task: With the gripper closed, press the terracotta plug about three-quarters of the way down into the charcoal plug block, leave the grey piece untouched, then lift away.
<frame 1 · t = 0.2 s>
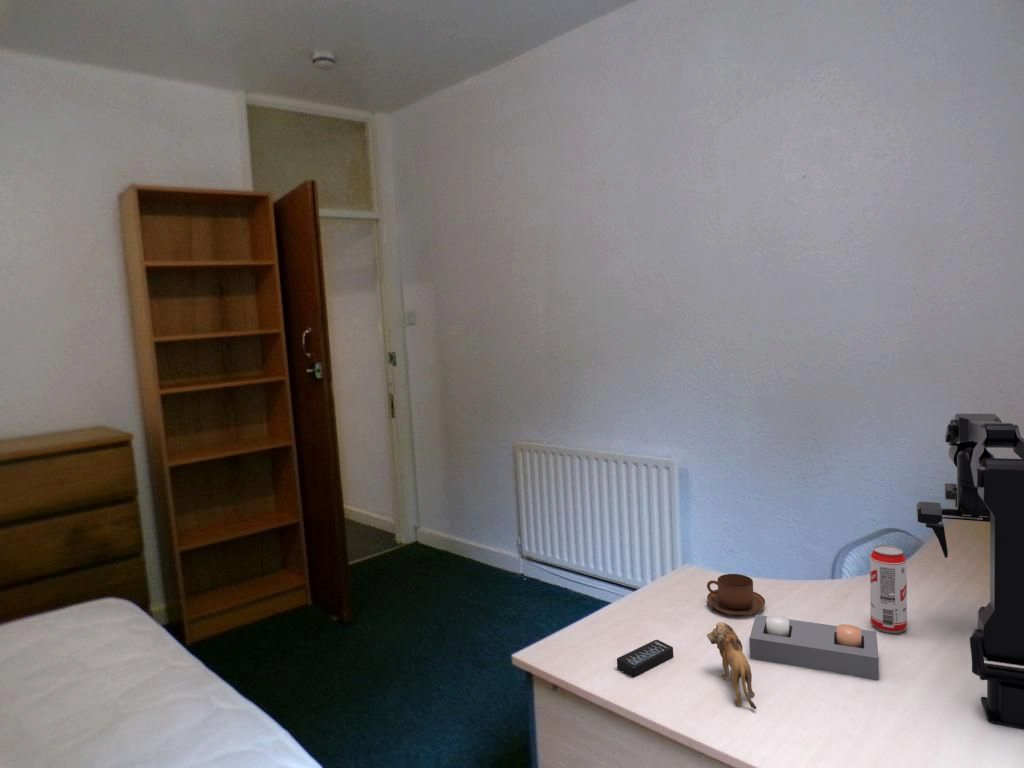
hand: (974, 560, 124), 14 cm above the table, fingers open, 9 cm apart
lion figurine: (733, 686, 114), on the table
multiport hub: (645, 665, 123), on the table
grey piece: (777, 628, 124), point 4 cm above the table, slide at 0.0 cm
beer can: (888, 628, 130), on the table
terracotta plug: (849, 638, 119), point 4 cm above the table, slide at 0.0 cm
cup and saucer: (736, 608, 143), on the table
plug block: (813, 655, 122), on the table
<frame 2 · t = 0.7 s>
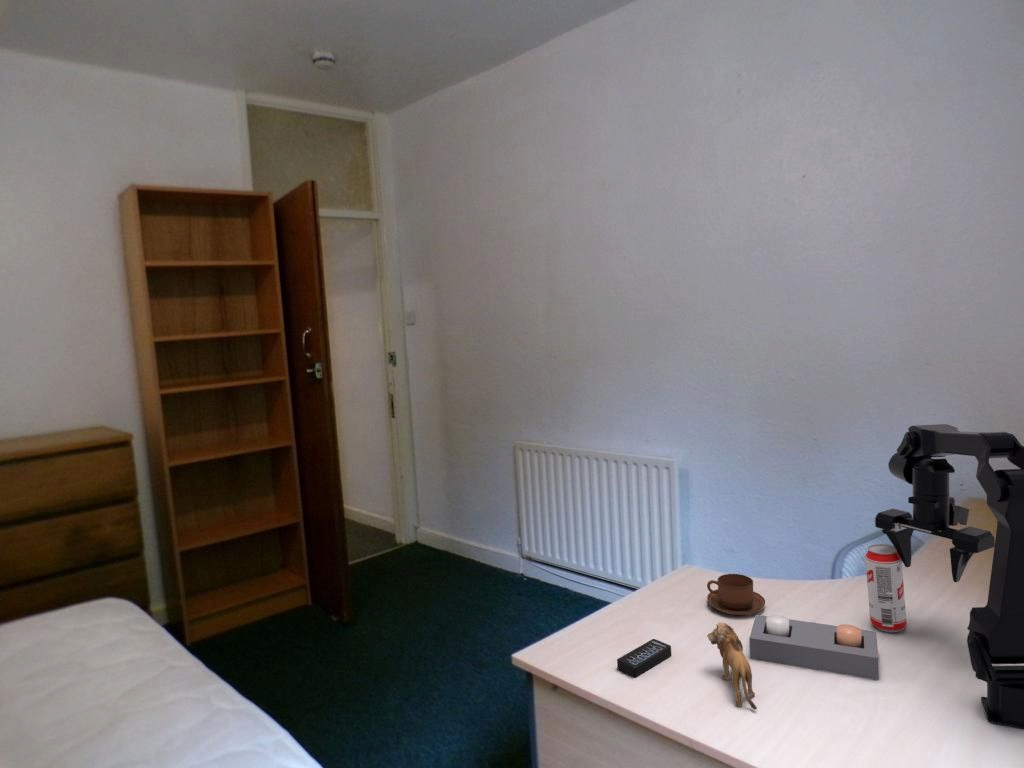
hand: (931, 574, 122), 13 cm above the table, fingers open, 8 cm apart
beer can: (888, 627, 130), on the table, touching gripper
everything else where it was.
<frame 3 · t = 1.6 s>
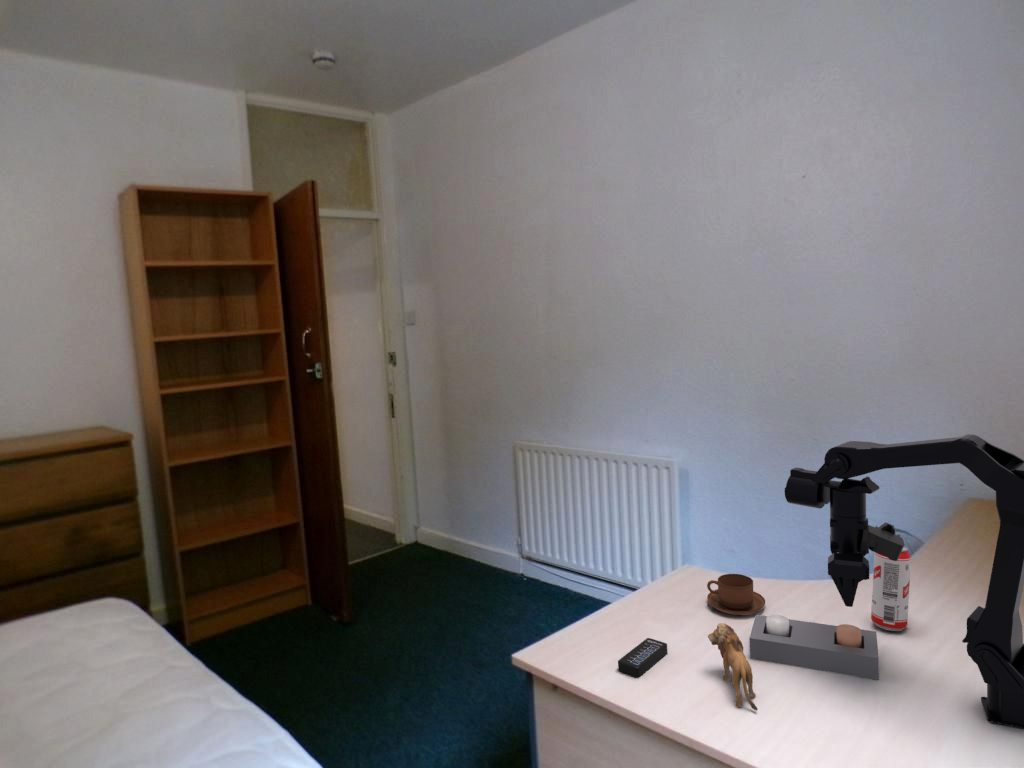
hand: (849, 597, 118), 12 cm above the table, fingers open, 7 cm apart
beer can: (888, 626, 130), on the table
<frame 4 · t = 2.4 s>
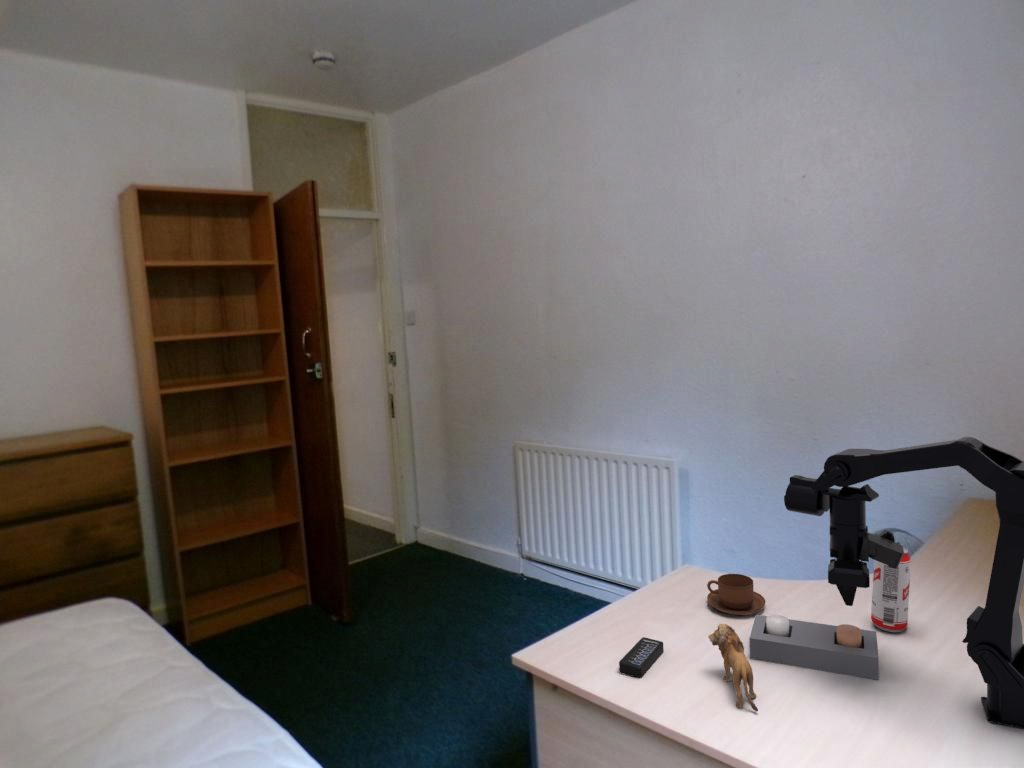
hand: (849, 604, 118), 11 cm above the table, fingers closed
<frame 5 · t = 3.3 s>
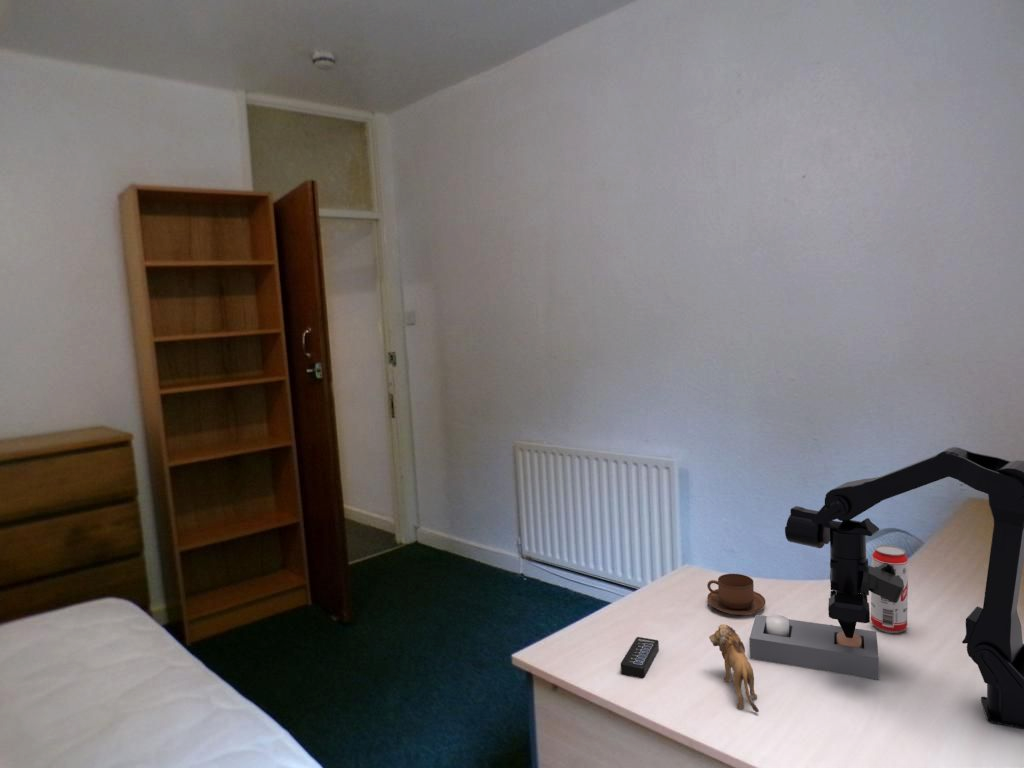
hand: (849, 637, 119), 5 cm above the table, fingers closed, pressing on terracotta plug
terracotta plug: (849, 646, 119), point 3 cm above the table, slide at 1.4 cm, touching gripper
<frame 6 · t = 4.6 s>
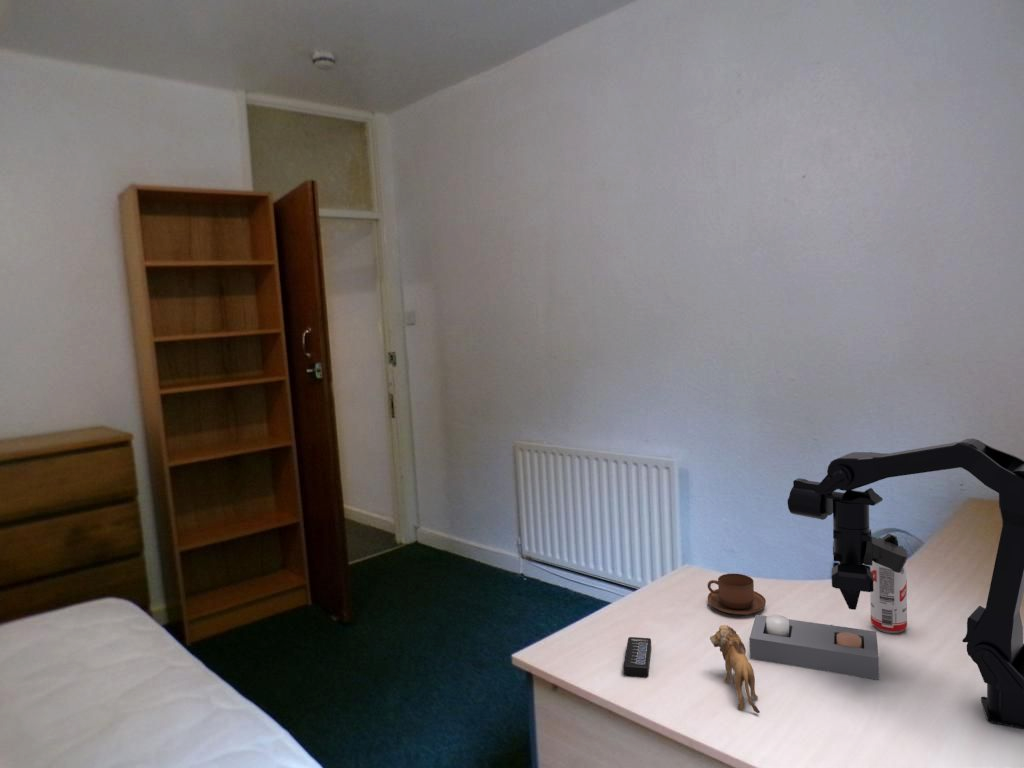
hand: (852, 608, 118), 10 cm above the table, fingers closed
terracotta plug: (849, 646, 119), point 3 cm above the table, slide at 1.5 cm
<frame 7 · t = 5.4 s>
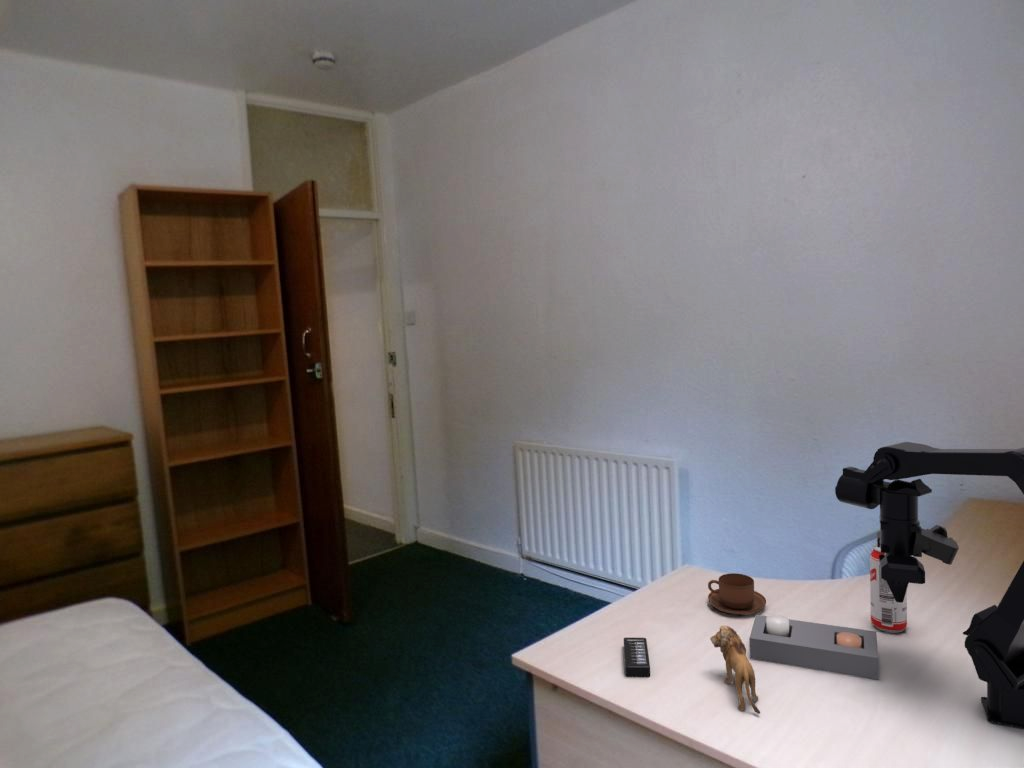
hand: (899, 601, 115), 12 cm above the table, fingers closed
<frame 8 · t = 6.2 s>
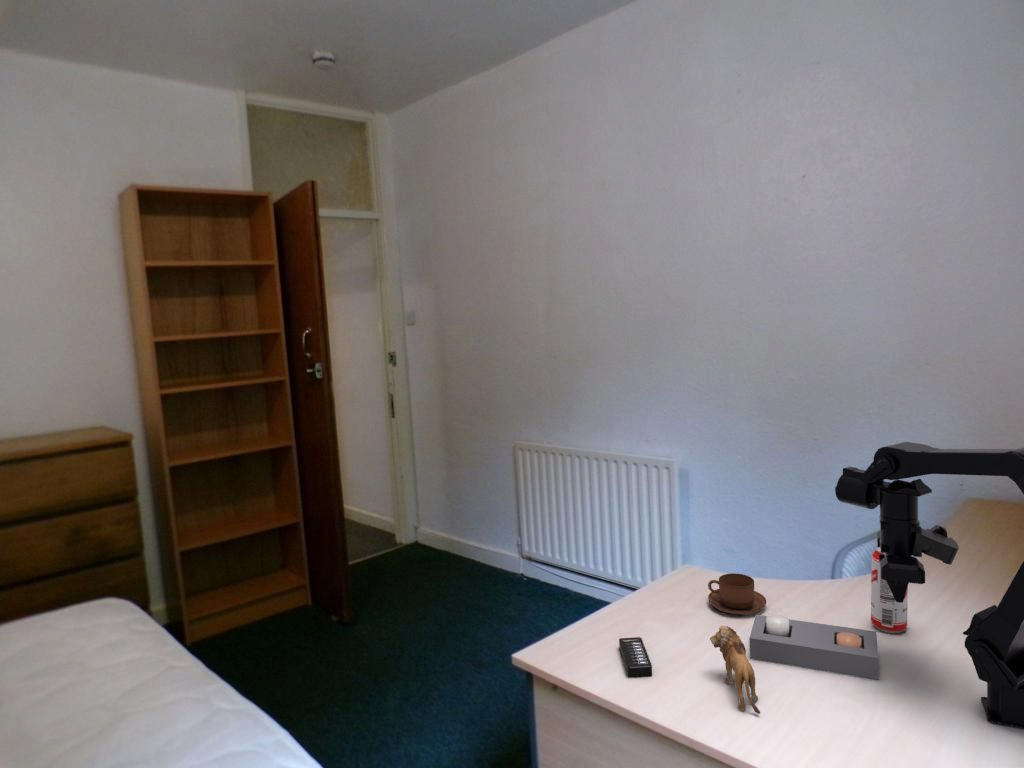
hand: (899, 601, 115), 12 cm above the table, fingers closed
at the end: terracotta plug slide at 1.5 cm; grey piece slide at 0.0 cm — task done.
